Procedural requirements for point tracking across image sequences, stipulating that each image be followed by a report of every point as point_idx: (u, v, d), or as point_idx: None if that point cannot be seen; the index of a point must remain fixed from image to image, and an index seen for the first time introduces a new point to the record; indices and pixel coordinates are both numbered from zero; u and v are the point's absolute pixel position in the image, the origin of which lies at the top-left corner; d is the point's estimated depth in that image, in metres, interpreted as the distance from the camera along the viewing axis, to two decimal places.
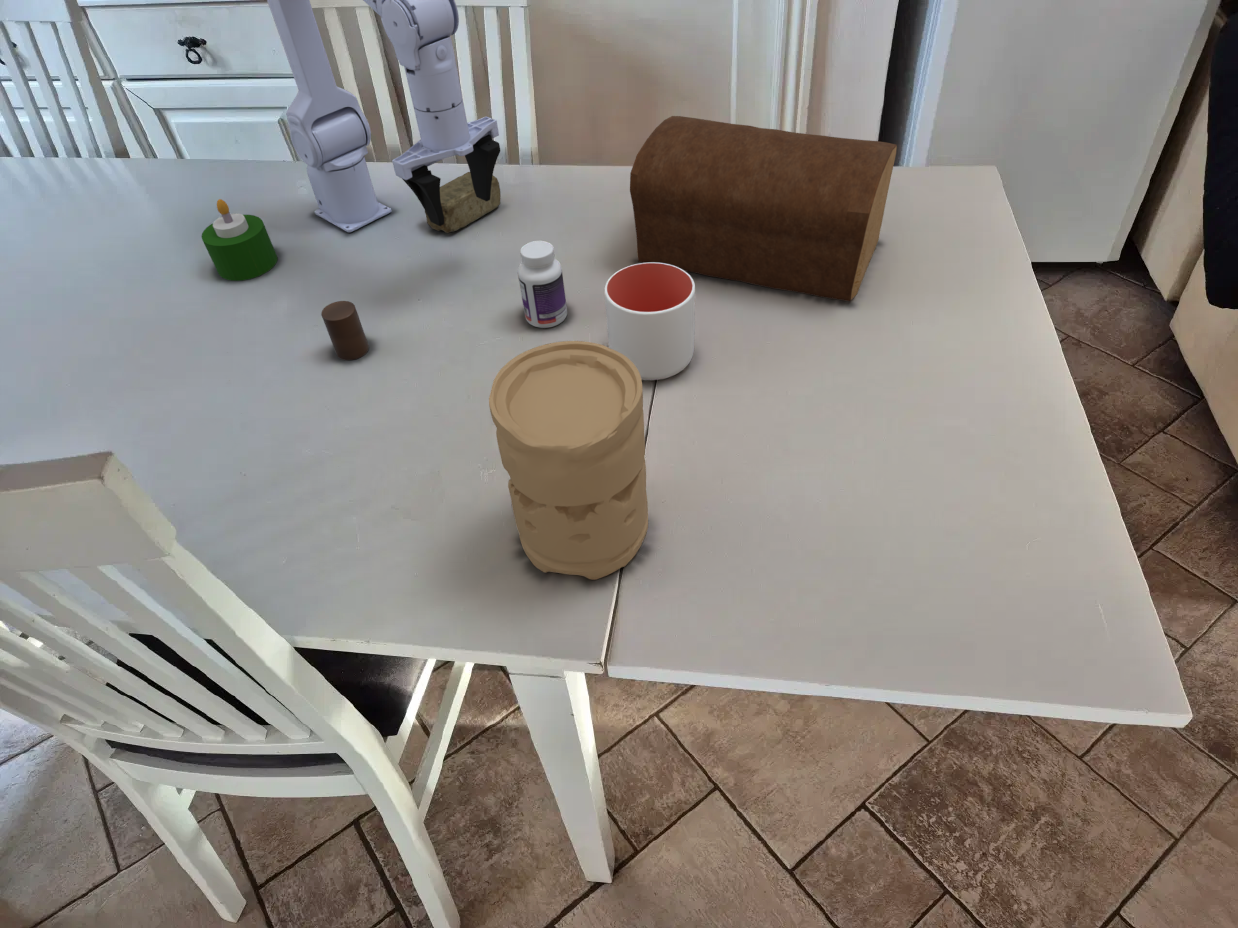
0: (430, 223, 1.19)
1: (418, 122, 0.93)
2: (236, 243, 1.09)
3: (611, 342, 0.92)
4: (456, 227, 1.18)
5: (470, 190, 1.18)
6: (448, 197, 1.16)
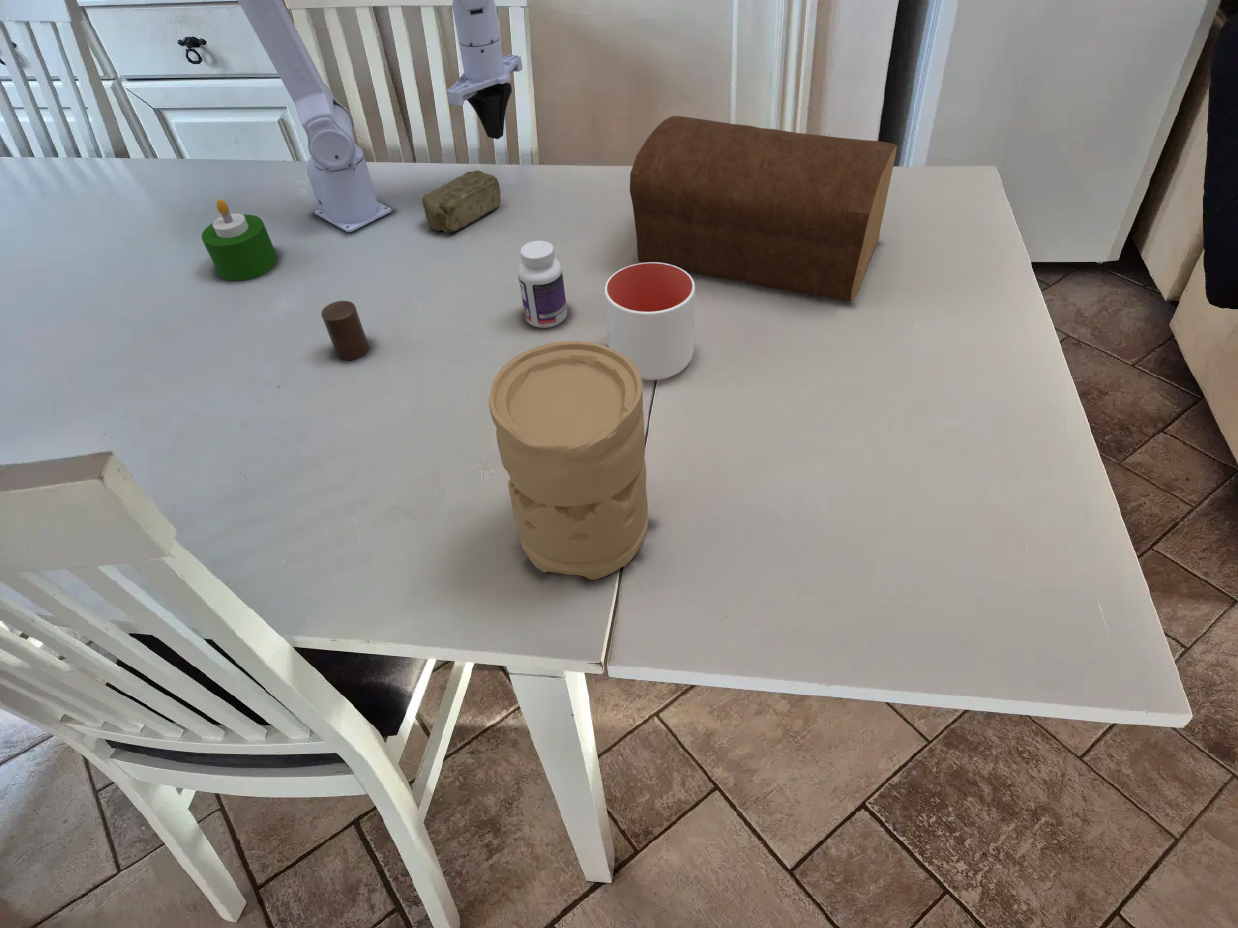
0: (430, 223, 1.19)
1: (464, 57, 1.12)
2: (236, 243, 1.09)
3: (611, 342, 0.92)
4: (456, 227, 1.18)
5: (470, 190, 1.18)
6: (448, 197, 1.16)
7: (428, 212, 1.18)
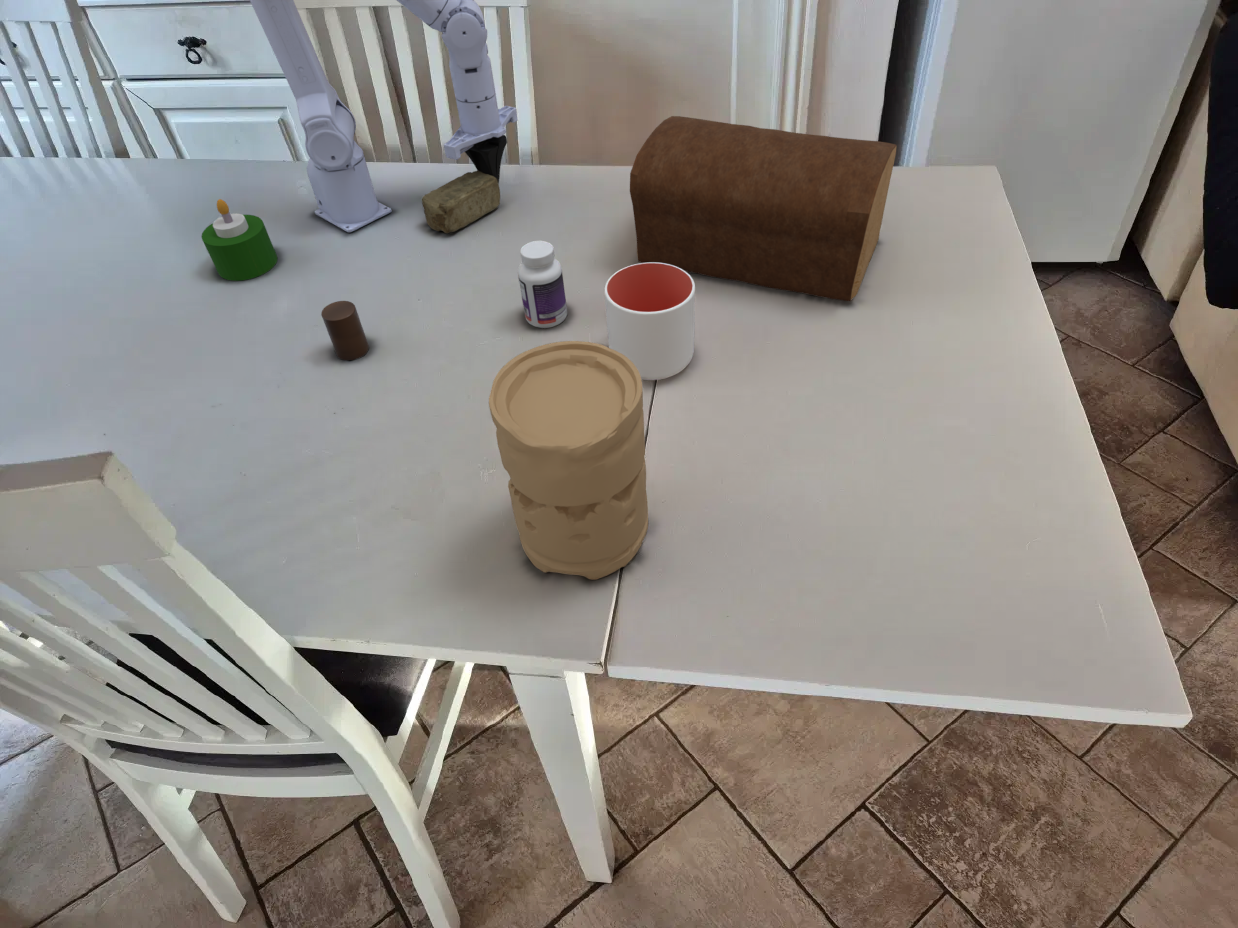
0: (430, 223, 1.19)
1: (461, 112, 1.15)
2: (236, 243, 1.09)
3: (611, 342, 0.92)
4: (456, 227, 1.18)
5: (470, 191, 1.18)
6: (448, 197, 1.16)
7: (428, 212, 1.18)
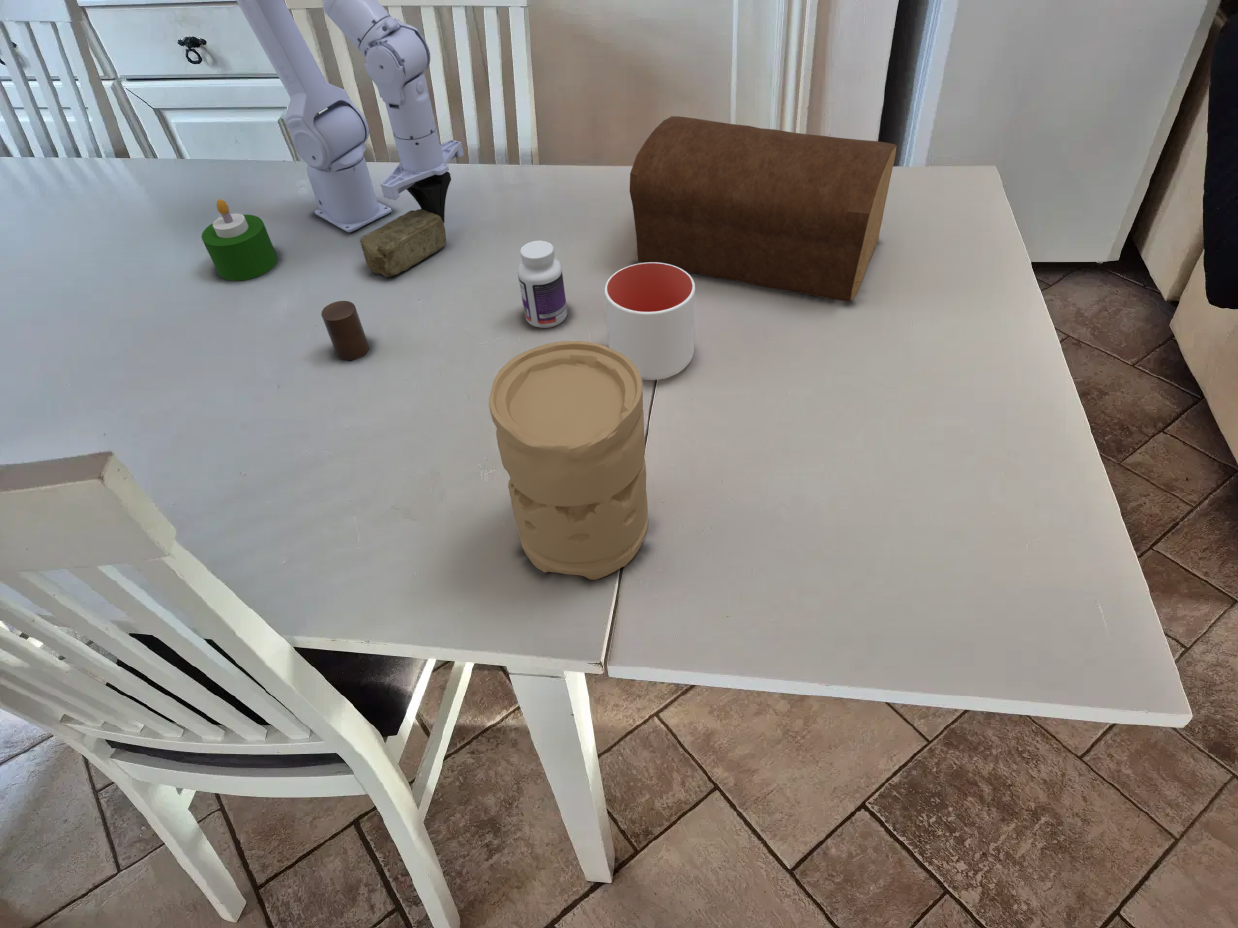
0: (369, 266, 1.12)
1: (399, 149, 1.08)
2: (236, 243, 1.09)
3: (611, 342, 0.92)
4: (397, 271, 1.11)
5: (412, 232, 1.10)
6: (387, 240, 1.09)
7: (367, 255, 1.11)
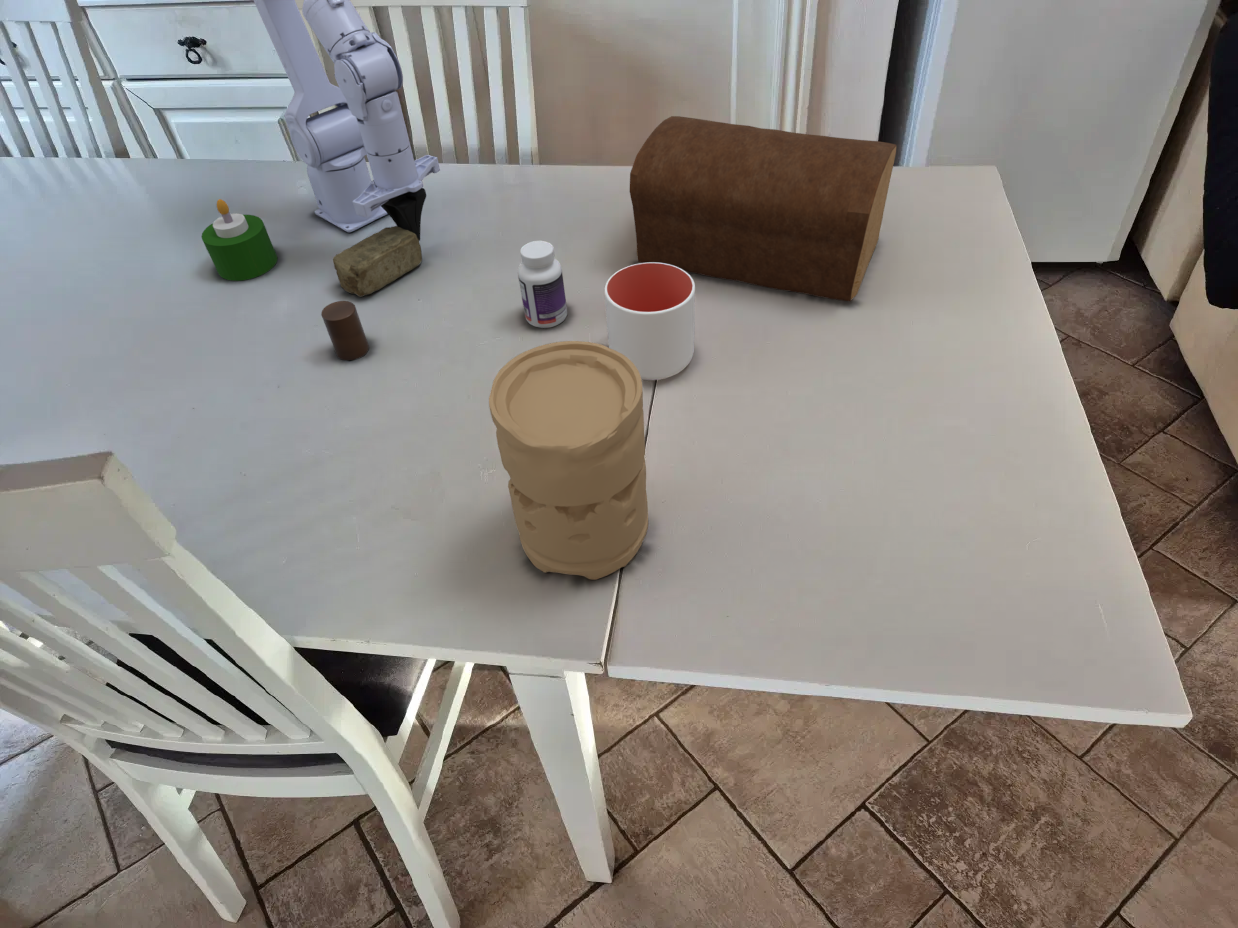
0: (342, 285, 1.09)
1: (372, 165, 1.05)
2: (236, 243, 1.09)
3: (611, 342, 0.92)
4: (370, 290, 1.08)
5: (385, 250, 1.07)
6: (360, 258, 1.06)
7: (340, 274, 1.08)
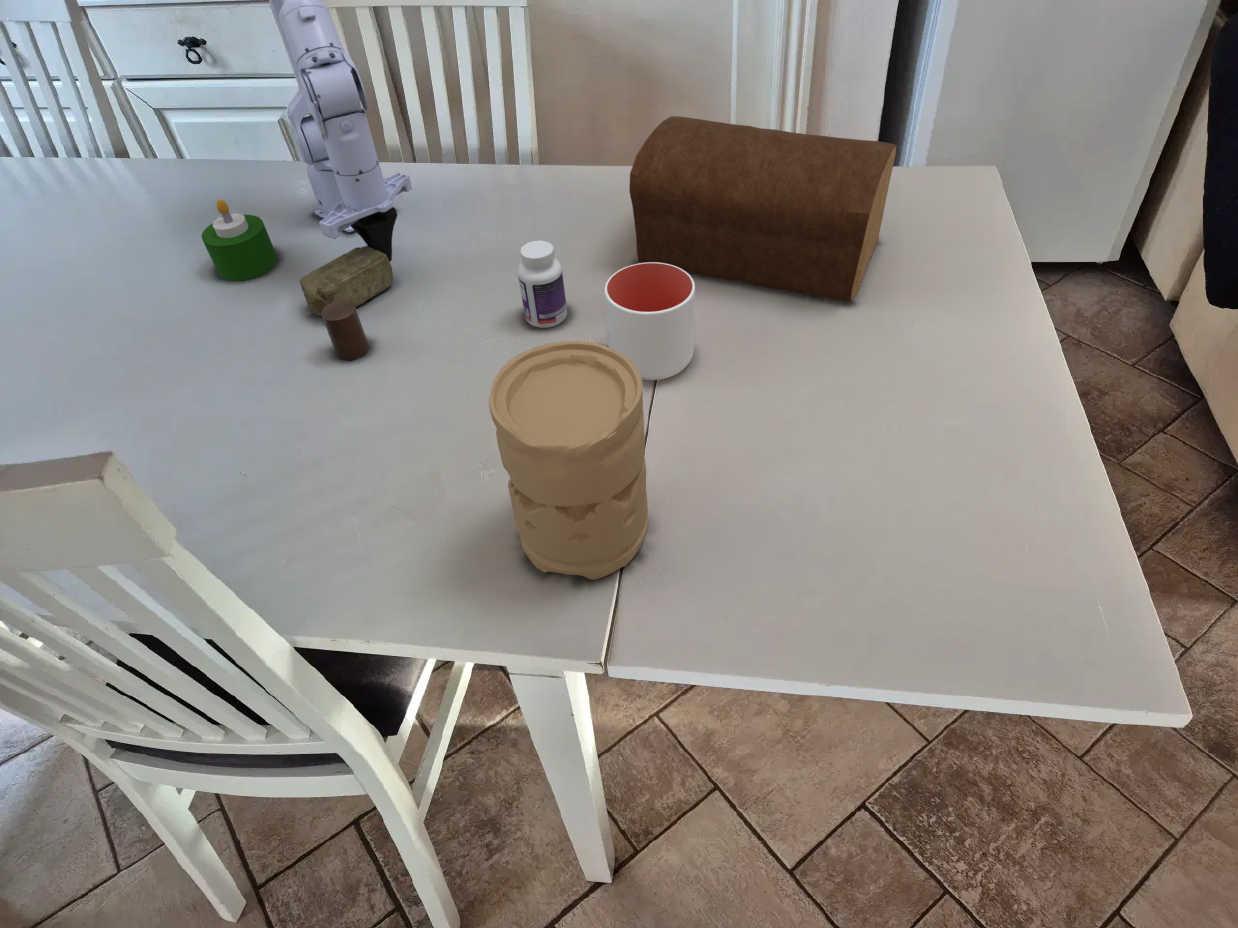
0: (310, 308, 1.06)
1: (339, 185, 1.01)
2: (236, 243, 1.09)
3: (611, 342, 0.92)
4: None
5: (354, 272, 1.04)
6: (328, 281, 1.03)
7: (307, 296, 1.05)
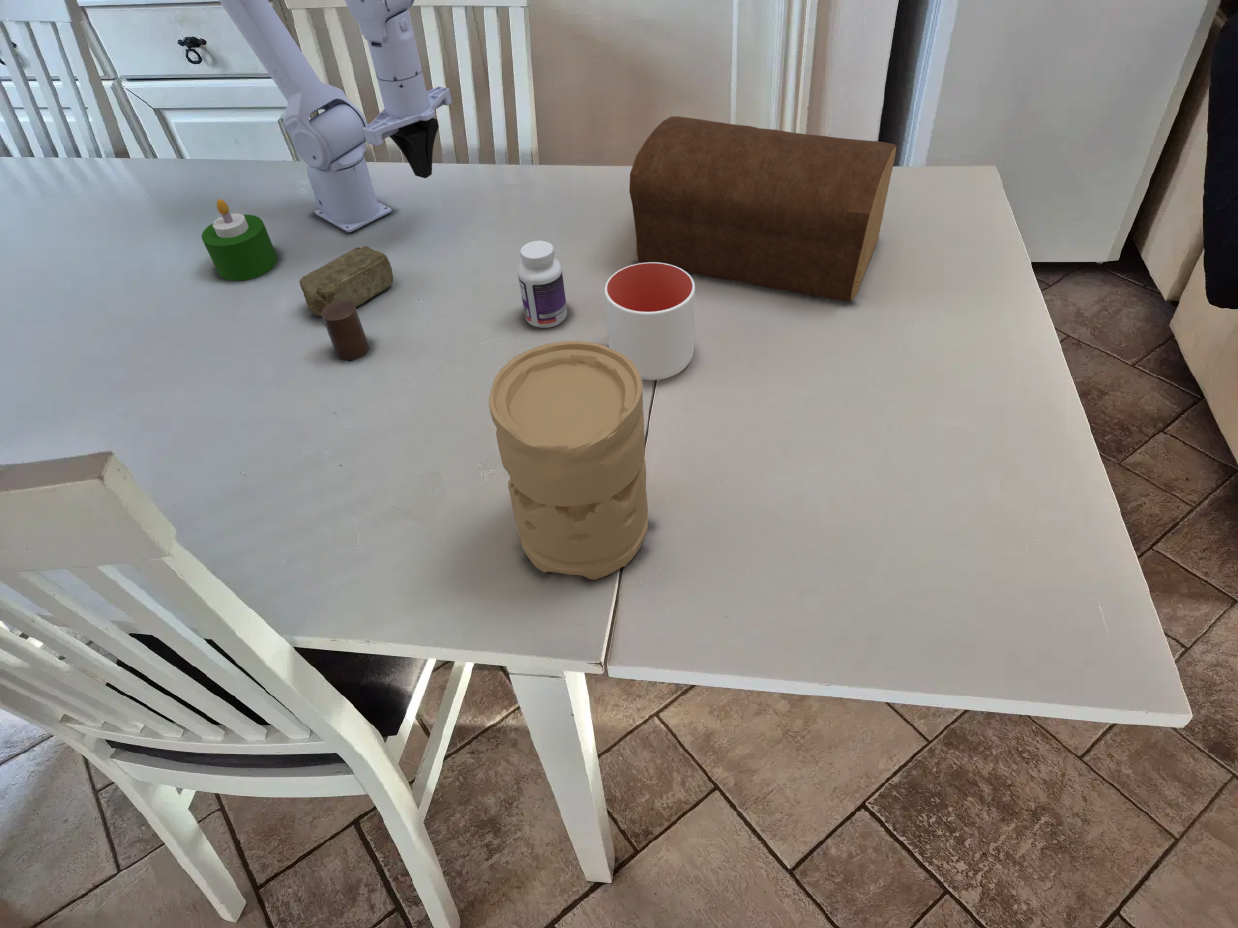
0: (310, 308, 1.05)
1: (383, 92, 1.02)
2: (236, 243, 1.09)
3: (611, 342, 0.92)
4: None
5: (354, 272, 1.04)
6: (327, 281, 1.03)
7: (307, 297, 1.05)
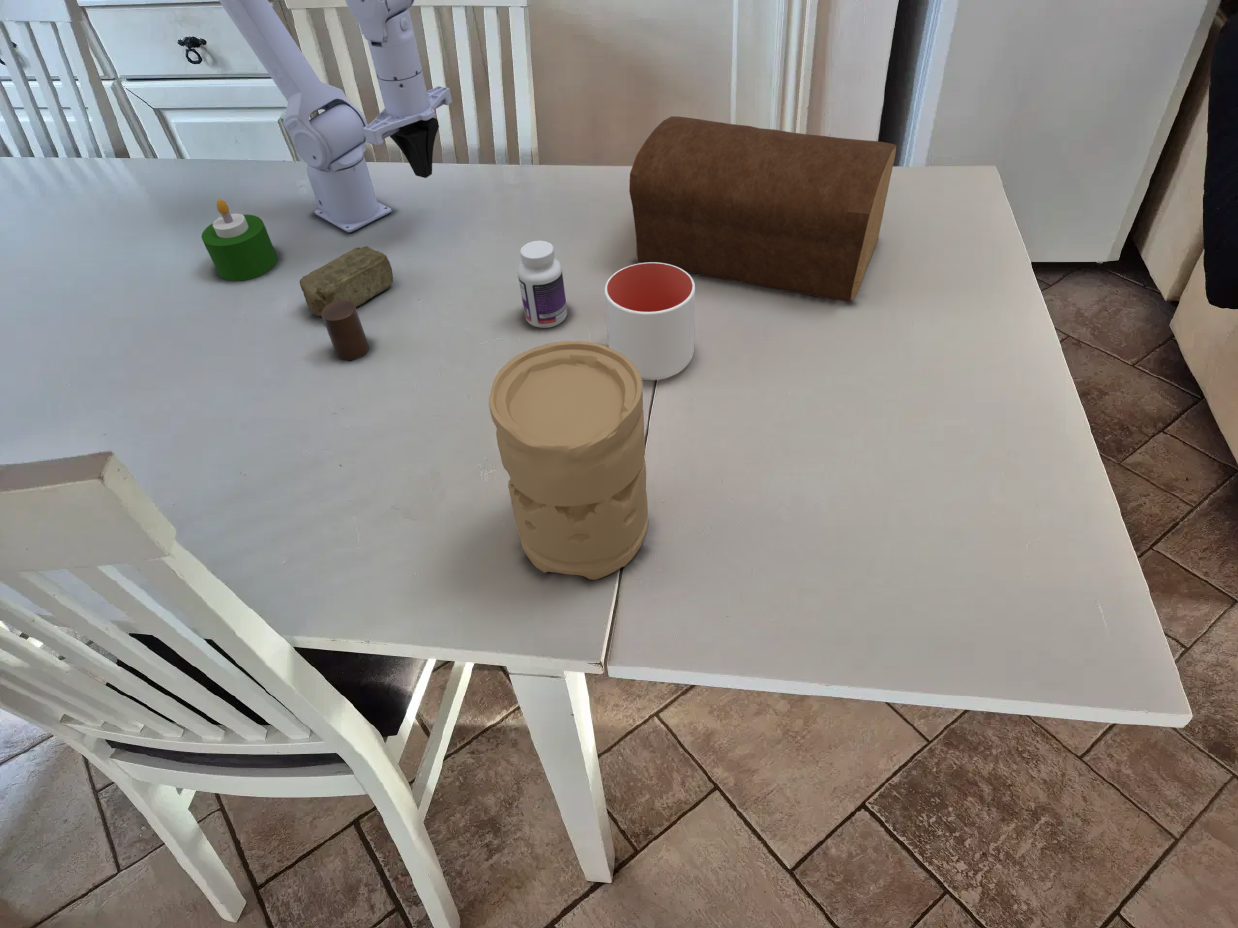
0: (310, 308, 1.05)
1: (383, 92, 1.02)
2: (236, 243, 1.09)
3: (611, 342, 0.92)
4: None
5: (354, 272, 1.04)
6: (327, 281, 1.03)
7: (307, 297, 1.05)
